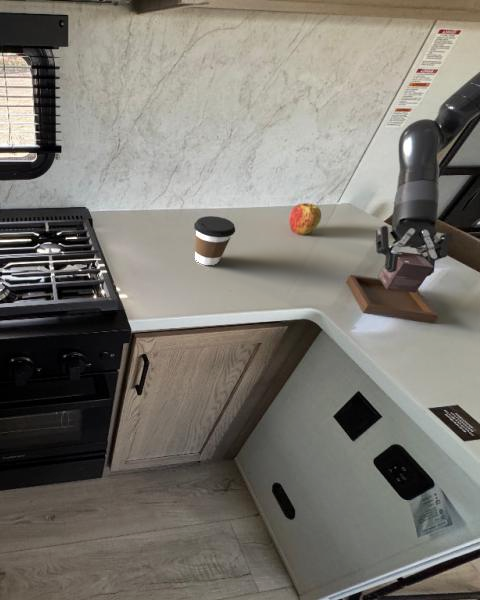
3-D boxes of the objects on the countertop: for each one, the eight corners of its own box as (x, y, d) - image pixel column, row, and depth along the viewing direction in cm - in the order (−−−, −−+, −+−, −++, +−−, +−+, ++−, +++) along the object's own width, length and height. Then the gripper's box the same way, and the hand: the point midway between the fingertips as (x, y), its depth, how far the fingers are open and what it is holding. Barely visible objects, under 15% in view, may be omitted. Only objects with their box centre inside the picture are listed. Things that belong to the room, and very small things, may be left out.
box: (415, 294, 80) (435, 267, 76) (385, 289, 82) (402, 262, 77) (405, 280, 85) (423, 254, 80) (376, 276, 86) (392, 250, 82)
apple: (283, 225, 122) (293, 197, 116) (312, 228, 119) (323, 200, 113) (285, 235, 115) (296, 207, 109) (316, 239, 112) (329, 210, 107)
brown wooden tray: (406, 290, 89) (411, 282, 88) (433, 323, 79) (439, 315, 77) (345, 281, 93) (349, 274, 91) (363, 312, 82) (367, 305, 81)
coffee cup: (201, 273, 97) (210, 234, 89) (180, 255, 105) (187, 218, 98) (233, 266, 99) (245, 228, 92) (210, 249, 108) (219, 213, 101)
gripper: (390, 195, 79) (382, 265, 77) (466, 201, 76) (460, 274, 74) (370, 208, 86) (363, 272, 85) (439, 214, 83) (433, 282, 81)
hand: (408, 273), depth 79 cm, fingers closed on box, 6 cm apart
